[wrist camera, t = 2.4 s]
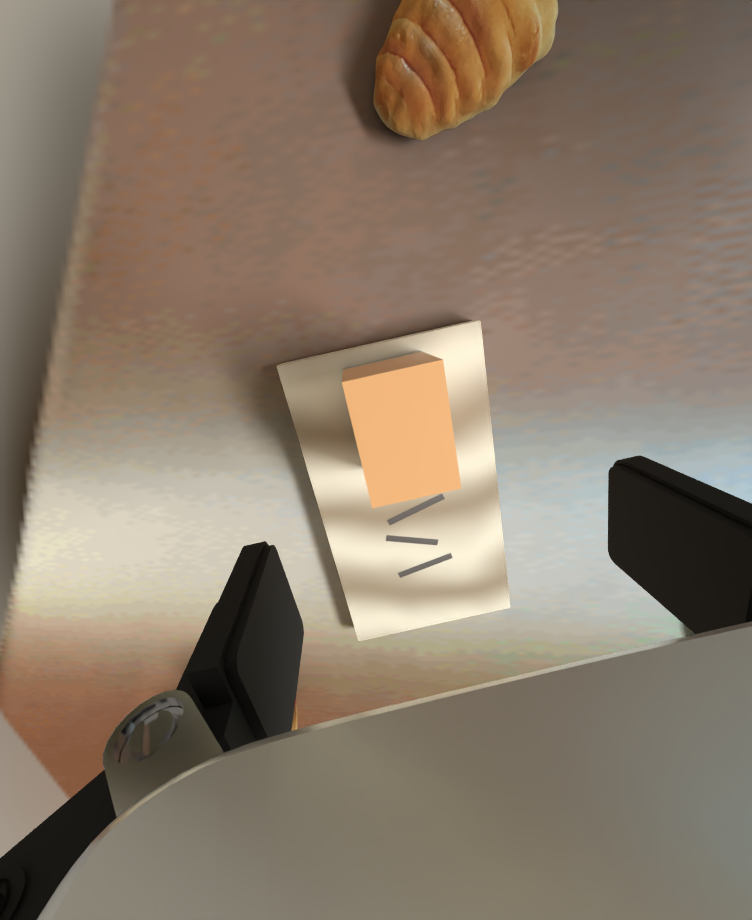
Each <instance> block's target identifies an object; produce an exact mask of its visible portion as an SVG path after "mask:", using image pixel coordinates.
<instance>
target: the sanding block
mask: <svg viewBox="0 0 752 920" xmlns="http://www.w3.org/2000/svg"><path fill="white" fill-rule="evenodd" d="M342 385H343V389H344V393H345V398H346V402H347V406H348V410H349V414H350V418H351V422H352V427H353V431H354V435H355V439H356V443H357V447H358V452H359V456H360V460H361V464H362V468H363V472H364V476H365V481H366V485H367V489H368V493H369V497H370V501H371V505H372V508H376V507H381V506H385V505H390V504H394V503H399V502H403V501H408V500H412V499H417V498H421V497H425V496H430V495H434V494H439V493H443V492H448V491H452V490H457V489H461V482H460V475H459V468H458V461H457V454H456V447H455V440H454V433H453V426H452V419H451V412H450V405H449V398H448V391H447V384H446V377H445V370H444V363H443V359H440V358H438V357H435V356H433V355H430V354H427V353H425V352H422V351H417V352H413V353H408V354H404V355H399V356H395V357H390V358H386V359H381V360H377V361H373V362H368V363H364V364H359V365H355V366H350V367H346V368H343V374H342Z"/></svg>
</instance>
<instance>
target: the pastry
mask: <svg viewBox="0 0 752 920" xmlns="http://www.w3.org/2000/svg"><path fill="white" fill-rule="evenodd" d="M557 16H558V1H557V0H401V2H400V5H399V7H398V9H397V11H396V12H395V14H394V17H393V20H392V24H391V27H390V29H389V33H388V35H387V38H386V41H385V43H384V45H383V47H382V49H381V50H380V52H379V53H378V56H377V58H376V75H375V87H374V98H373V101H374V107H375V109H376V111H377V113H378V114H379V116H380V118H381V120H382V121H383V123H384V124H385V125H386V126H387V127H388V128H389V129H391V130H392V131H394V132H396V133H398V134H400V135H402V136H405V137H408V138H413V139H417V140H420V141H423V140H425V139H427V138H429V137H430V136H432V135H436V134H438V133H439V132H440V131H442V130H446V129H452V128H456V127H457V126H458V125H460V124H462V123H463V122H465V121H466V120H471V119H472V118H473V117H474V116H475V115H477V114H479V113H482V112H484V111H487V110H489V109H491V108H492V107H493V106H495V105H496V103H497V102H498V101H499V99H500V97H501V96H502V94H503V92H504V91H505V90H506V89H508V88H509V87H510V86H511V85H512V84H514V82H516V81H517V79H518V78H520V77H521V75H522V74H523V73H524V72H525V71H526V70H527V69H528V68H529V67H531V66H532V65H533V64H534V63H535V62H537V61H539V60H540V59H542V58H543V57H544V56H546V55H547V54H548V52H549V50H550V49H551V46H552V44H553V41H554V37H555V22H556V19H557Z"/></svg>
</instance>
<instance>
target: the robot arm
mask: <svg viewBox="0 0 752 920" xmlns="http://www.w3.org/2000/svg"><path fill="white" fill-rule="evenodd" d="M608 552H609V556H610V558H611V559H612V561H613V562H614V563H615V564H616V565H617V566H618V567H619V568H620V569H622V570H623V571H624V572H625V573H626V574H627V575H629V576H630V577H631V578H632V579H633V580H634V581H635V582H637V583H638V584H639V585H640V586H641V587H642V588H643V589H645V590H646V591H647V592H648V593H649V594H650V595H651V596H653V597H654V598H655V599H656V600H657V601H658V602H659V603H661V604H662V605H663V606H664V607H665V608H666V609H667V610H669V611H670V612H671V613H672V614H673V615H674V616H675V617H677V618H678V619H679V620H680V621H681V622H682V623H684V624H685V625H686V626H687V627H688V628H689V629H690V630H692V631H693V632H694V633H695V634H694V635H690V636H686V637H681V638H677V639H672V640H668V641H664V642H659V643H655V644H650V645H646V646H642V647H637V648H633V649H629V650H624V651H620V652H616V653H611V654H607V655H603V656H598V657H594V658H590V659H585V660H581V661H577V662H573V663H568V664H564V665H560V666H555V667H551V668H547V669H543V670H538V671H534V672H530V673H526V674H521V675H517V676H513V677H508V678H504V679H500V680H496V681H491V682H487V683H483V684H479V685H475V686H471V687H466V688H462V689H458V690H454V691H450V692H446V693H441V694H437V695H433V696H429V697H425V698H421V699H416V700H412V701H408V702H404V703H400V704H395V705H391V706H387V707H383V708H379V709H375V710H370V711H366V712H362V713H358V714H355V715H351V716H347V717H343V718H339V719H335V720H331V721H327V722H323V723H319V724H315V725H311V726H308V727H304V728H300V729H297V730H293V731H292V723H293V715H294V707H295V699H296V691H297V683H298V675H299V667H300V660H301V652H302V644H303V636H304V629H303V623H302V619H301V617H300V614H299V611H298V608H297V605H296V603H295V600H294V597H293V594H292V591H291V589H290V586H289V583H288V580H287V577H286V575H285V572H284V569H283V566H282V563H281V561H280V558H279V555H278V552H277V550H276V547H275V546H274V545H271V546H269V545H268V544H267V542H265V541H264V542H260V543H256V544H251V545H247V546H244V547H243V548H242V550H241V553H240V555H239V557H238V559H237V562H236V564H235V566H234V568H233V570H232V573H231V575H230V577H229V579H228V582H227V584H226V586H225V588H224V590H223V593H222V595H221V597H220V599H219V602H218V603H216V605H215V606H214V608H213V610H212V612H211V614H210V617H209V619H208V621H207V623H206V625H205V628H204V630H203V632H202V634H201V636H200V639H199V641H198V643H197V645H196V647H195V649H194V652H193V654H192V656H191V658H190V660H189V663H188V665H187V667H186V669H185V671H184V673H183V676H182V678H181V680H180V682H179V684H178V687H177V689H176V690H172V691H165V692H163V693H160V694H158V695H155V696H153V697H151V698H149V699H148V700H146V701H145V702H143V703H141V704H140V705H139V706H137V707H136V708H135V709H134V710H133V711H131V712H130V713H129V714H128V715H127V716H126V717H125V718H124V719H123V720H122V721H121V723H120V724H119V725H118V726H117V727H116V728H115V730H114V732H113V733H112V735H111V736H110V738H109V740H108V741H107V744H106V747H105V750H104V752H103V766H104V771H102V772H101V773H100V774H99V775H98V776H97V777H95V778H94V779H93V780H92V781H91V782H90V783H88V784H87V785H86V786H85V787H84V788H82V789H81V790H80V791H79V792H78V793H77V794H75V795H74V796H73V797H72V798H71V799H70V800H68V801H67V802H66V803H65V804H64V805H63V806H61V807H60V808H59V809H58V810H57V811H55V812H54V813H53V814H52V815H51V816H49V817H48V818H47V819H46V820H45V821H44V822H42V823H41V824H40V825H39V826H38V827H37V828H35V829H34V830H33V831H32V832H31V833H29V834H28V835H27V836H26V837H25V838H24V839H22V840H21V841H20V842H19V843H18V844H17V845H15V846H14V847H13V848H12V849H11V850H10V851H8V852H7V853H6V854H5V855H4V856H2V857H1V858H0V920H752V504H751V503H749V502H747V501H744V500H742V499H740V498H737V497H735V496H733V495H731V494H728V493H726V492H724V491H721V490H719V489H717V488H714V487H712V486H710V485H708V484H705V483H703V482H701V481H698V480H696V479H694V478H691V477H689V476H687V475H685V474H682V473H680V472H678V471H675V470H673V469H671V468H668V467H666V466H664V465H662V464H659V463H657V462H655V461H652V460H650V459H648V458H645V457H643V456H635V457H631V458H626V459H622V460H617V461H616V462H615V463H614V465H613V467H611V468H610V470H609V485H608Z"/></svg>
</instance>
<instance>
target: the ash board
mask: <svg viewBox="0 0 752 920" xmlns="http://www.w3.org/2000/svg"><path fill="white" fill-rule="evenodd" d="M417 351H422V352H425V353H427V354H430V355H433V356H435V357H438V358H440V359H443V363H444V370H445V377H446V384H447V391H448V398H449V405H450V412H451V419H452V426H453V433H454V440H455V447H456V454H457V461H458V468H459V475H460V482H461V489H457V490H452V491H448V492H443V493H439V494H434V495H430V496H425V497H421V498H417V499H412V500H408V501H403V502H399V503H394V504H390V505H385V506H381V507H376V508H372V505H371V501H370V497H369V493H368V489H367V485H366V481H365V476H364V472H363V468H362V464H361V460H360V456H359V452H358V447H357V443H356V439H355V435H354V431H353V427H352V422H351V418H350V414H349V410H348V406H347V402H346V398H345V393H344V389H343V385H342V374H343V368H346V367H350V366H355V365H359V364H364V363H368V362H373V361H377V360H381V359H386V358H390V357H395V356H399V355H404V354H408V353H413V352H417ZM277 370H278V373H279V376H280V380H281V383H282V386H283V390H284V393H285V396H286V400H287V403H288V406H289V410H290V413H291V417H292V420H293V423H294V427H295V430H296V433H297V437H298V440H299V443H300V447H301V450H302V453H303V457H304V460H305V463H306V467H307V470H308V474H309V477H310V480H311V484H312V487H313V490H314V494H315V497H316V500H317V504H318V507H319V510H320V514H321V517H322V520H323V524H324V527H325V530H326V534H327V537H328V541H329V544H330V547H331V551H332V554H333V557H334V561H335V564H336V567H337V571H338V574H339V577H340V581H341V584H342V587H343V591H344V594H345V598H346V601H347V604H348V608H349V611H350V614H351V618H352V621H353V624H354V628H355V631H356V634H357V638H358V641H362V640H367V639H371V638H376V637H380V636H385V635H389V634H394V633H398V632H403V631H407V630H412V629H416V628H421V627H425V626H430V625H434V624H439V623H443V622H448V621H452V620H457V619H461V618H466V617H470V616H475V615H479V614H484V613H488V612H493V611H497V610H502V609H506V608H510V600H509V590H508V581H507V571H506V562H505V552H504V542H503V533H502V523H501V514H500V504H499V494H498V485H497V475H496V465H495V456H494V446H493V437H492V427H491V417H490V408H489V398H488V389H487V379H486V369H485V360H484V350H483V341H482V331H481V321H480V320H473V321H468V322H464V323H459V324H455V325H450V326H446V327H441V328H437V329H433V330H428V331H424V332H419V333H415V334H410V335H406V336H401V337H397V338H393V339H388V340H384V341H379V342H375V343H370V344H366V345H362V346H357V347H353V348H348V349H344V350H339V351H335V352H330V353H326V354H322V355H317V356H313V357H308V358H304V359H299V360H295V361H290V362H286V363H282V364H279V365H278V366H277Z"/></svg>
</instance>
